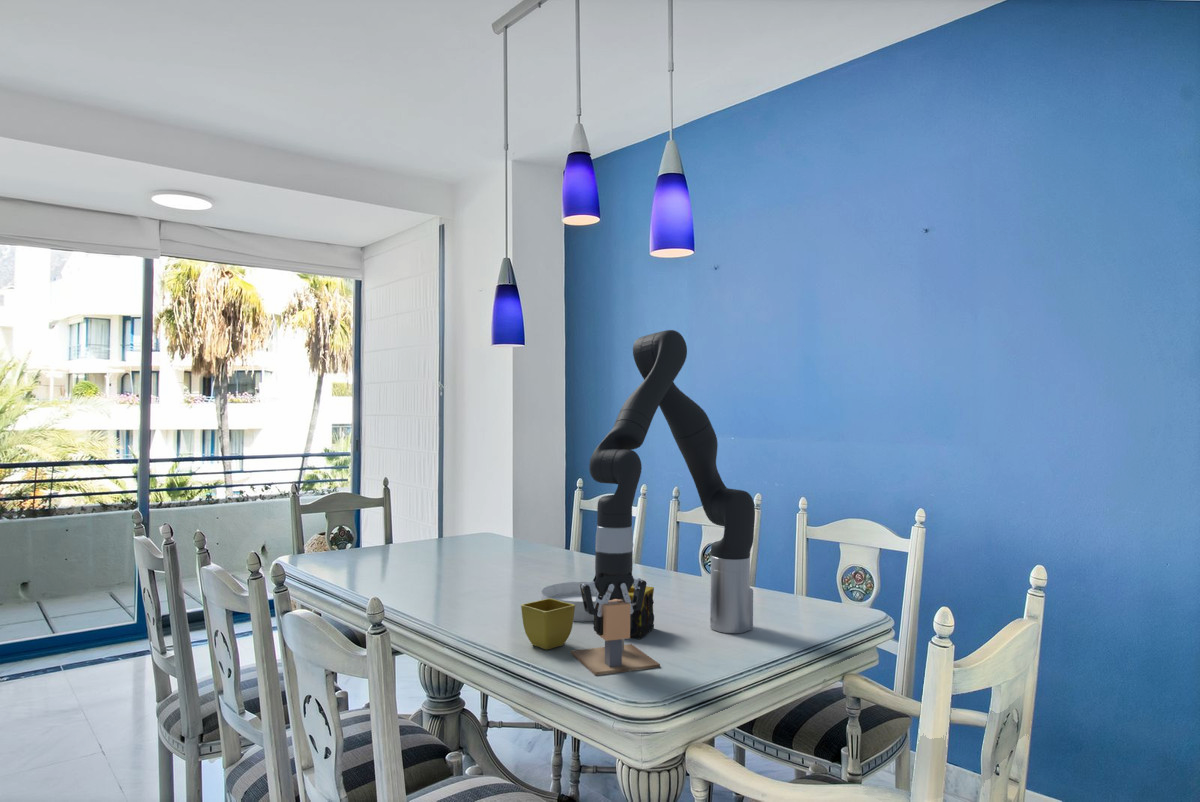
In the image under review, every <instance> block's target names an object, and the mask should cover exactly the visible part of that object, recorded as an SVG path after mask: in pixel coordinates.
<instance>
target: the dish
mask: <svg viewBox="0 0 1200 802" xmlns="http://www.w3.org/2000/svg"><path fill="white" fill-rule="evenodd" d="M589 582H590V581H572V582H571V581H570V582H561V583H560V582H559V583H555V584H551V585H547V586H546V587H544V588H542V590H541V593H540V594H541V597H540V598H541V599H540V600H544V599H549V598H550V599H555V600H558V601H562V602H566V603H570V604H574V605H575V610H574V618H573V622H592V621H593V622H594V615H591V614H589V613H588V612H586V611H585V609H584V604H583V599H582V594H581V589H580V584H581V583H589ZM597 595H598V591H597V589H596V588H595V587H594V588H593V593H592V594H591V596H592V601H593V606H595V603H596V597H597Z"/></svg>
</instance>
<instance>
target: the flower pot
mask: <svg viewBox="0 0 1200 802" xmlns="http://www.w3.org/2000/svg"><path fill="white" fill-rule="evenodd" d="M520 609H521V615H522V616H521V617H522V623H523V628H524V629H523V630H524V633H525V635H526V636H527V638H528V640H529V642H530V644H531V645H532V646H534V647H538V648H541V649H543V650H551V649H554V648H557V647H562V646H564V645H565V644H566V642H567V640H568V638H569V637H570V634H571V633H572V629H573V625H574V621H573V618H574V610H575V605H574V604H570V603H566V602H562V601H558V600H555V599H550V598H549V599H544V600H541V599H540V600H537V601H531V602H528V603H527V602H526V603H523V604H520Z"/></svg>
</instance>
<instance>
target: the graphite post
mask: <svg viewBox="0 0 1200 802" xmlns="http://www.w3.org/2000/svg"><path fill="white" fill-rule="evenodd" d="M604 647H605V664H606V665H607V666H608V667H617V666H622V639H618V640H609V641H605V640H604Z"/></svg>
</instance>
